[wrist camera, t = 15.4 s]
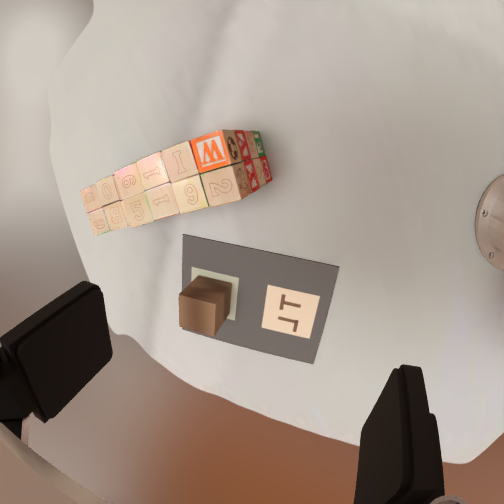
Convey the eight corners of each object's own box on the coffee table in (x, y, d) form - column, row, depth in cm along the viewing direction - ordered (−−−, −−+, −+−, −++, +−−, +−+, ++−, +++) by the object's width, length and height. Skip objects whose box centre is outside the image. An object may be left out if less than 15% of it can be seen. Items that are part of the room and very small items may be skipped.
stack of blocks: (135, 216, 45) (77, 244, 34) (122, 176, 43) (61, 194, 32) (273, 179, 37) (241, 200, 26) (260, 129, 36) (221, 128, 25)
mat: (338, 266, 39) (338, 267, 39) (313, 363, 45) (313, 364, 45) (183, 234, 43) (182, 234, 43) (183, 328, 50) (182, 329, 49)
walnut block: (232, 282, 44) (215, 304, 38) (229, 313, 46) (214, 336, 40) (198, 274, 45) (178, 294, 39) (198, 304, 47) (179, 326, 41)
